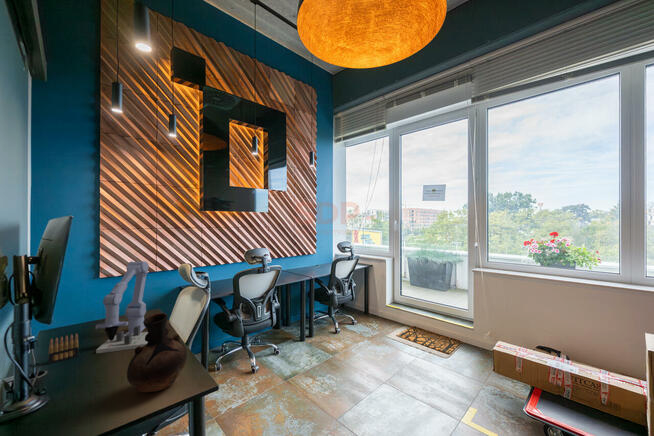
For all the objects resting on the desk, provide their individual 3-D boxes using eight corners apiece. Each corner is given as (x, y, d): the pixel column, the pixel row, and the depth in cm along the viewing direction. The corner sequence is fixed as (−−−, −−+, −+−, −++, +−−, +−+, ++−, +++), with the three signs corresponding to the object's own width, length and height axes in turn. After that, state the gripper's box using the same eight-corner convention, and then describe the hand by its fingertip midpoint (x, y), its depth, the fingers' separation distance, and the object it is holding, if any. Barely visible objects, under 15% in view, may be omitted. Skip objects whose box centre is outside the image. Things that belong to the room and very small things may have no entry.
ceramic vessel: (181, 369, 121) (182, 304, 122) (191, 386, 108) (192, 314, 108) (124, 388, 107) (126, 315, 108) (128, 411, 94) (129, 327, 95)
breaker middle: (118, 339, 148) (118, 331, 148) (123, 338, 149) (123, 330, 149) (116, 341, 145) (116, 333, 145) (121, 340, 146) (121, 332, 146)
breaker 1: (126, 342, 144) (126, 334, 144) (131, 341, 145) (131, 333, 145) (124, 344, 141) (124, 336, 141) (129, 343, 142) (129, 335, 142)
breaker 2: (135, 333, 155) (135, 326, 155) (140, 333, 156) (140, 325, 156) (133, 335, 152) (133, 328, 153) (138, 335, 153) (138, 327, 153)
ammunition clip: (48, 364, 125) (48, 339, 126) (48, 363, 127) (48, 338, 127) (78, 356, 133) (79, 333, 133) (78, 355, 134) (79, 332, 134)
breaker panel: (113, 339, 153) (113, 335, 153) (155, 334, 160) (155, 330, 160) (96, 353, 136) (96, 349, 136) (144, 347, 142) (144, 343, 143)
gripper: (92, 319, 140) (92, 344, 140) (124, 316, 144) (123, 341, 144) (99, 315, 147) (99, 339, 147) (129, 312, 151) (129, 336, 151)
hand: (111, 339), depth 146 cm, fingers closed
